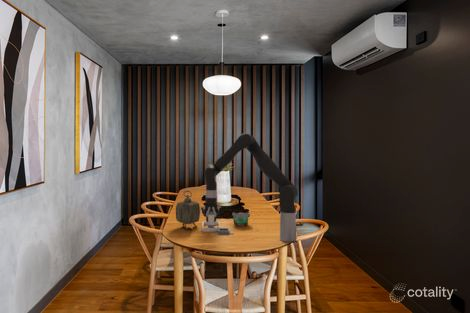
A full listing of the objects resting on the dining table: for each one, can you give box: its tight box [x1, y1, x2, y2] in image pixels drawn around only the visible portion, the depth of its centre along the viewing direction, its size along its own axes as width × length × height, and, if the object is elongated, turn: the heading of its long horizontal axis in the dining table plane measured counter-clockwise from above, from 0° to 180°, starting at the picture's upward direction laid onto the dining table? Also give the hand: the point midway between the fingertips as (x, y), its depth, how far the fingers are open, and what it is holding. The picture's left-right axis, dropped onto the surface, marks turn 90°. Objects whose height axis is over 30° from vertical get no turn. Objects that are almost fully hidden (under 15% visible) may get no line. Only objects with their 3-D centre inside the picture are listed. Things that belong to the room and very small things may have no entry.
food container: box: [231, 212, 250, 227], centre depth 231 cm, size 12×6×10 cm, turn 101°
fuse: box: [207, 212, 215, 228], centre depth 224 cm, size 4×4×10 cm
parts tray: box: [201, 220, 221, 233], centre depth 225 cm, size 12×18×3 cm, turn 4°
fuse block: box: [213, 227, 234, 236], centre depth 213 cm, size 12×8×3 cm, turn 94°
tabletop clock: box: [175, 190, 201, 229], centre depth 227 cm, size 14×9×25 cm, turn 59°
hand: (211, 221), depth 224 cm, fingers closed on fuse, 4 cm apart
